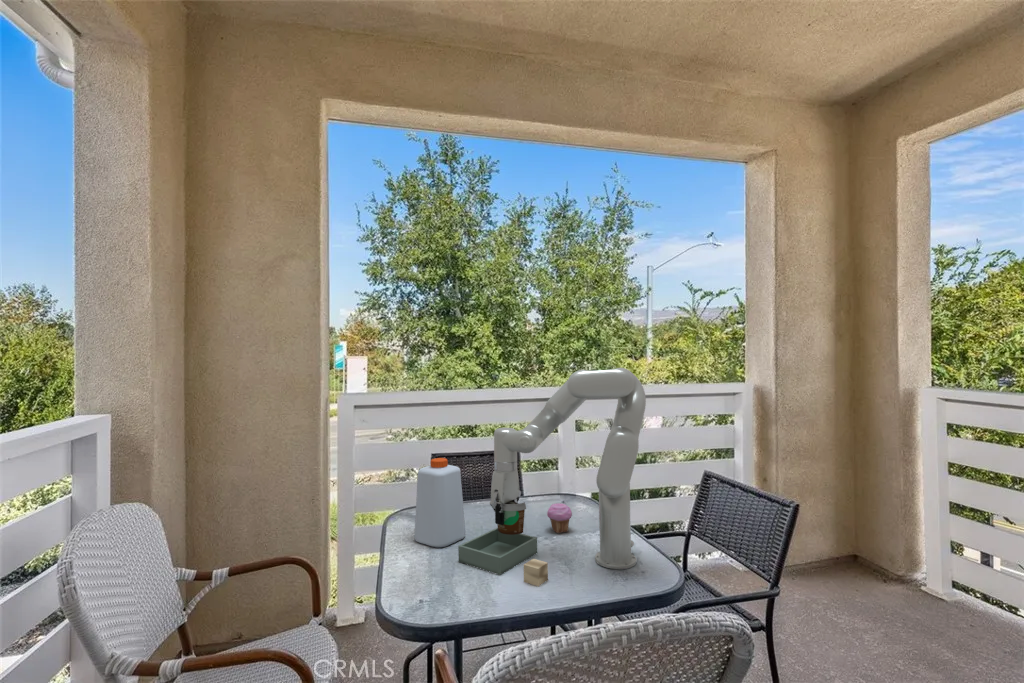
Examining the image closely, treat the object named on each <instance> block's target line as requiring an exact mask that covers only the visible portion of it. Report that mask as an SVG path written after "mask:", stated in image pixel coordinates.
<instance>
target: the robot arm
mask: <svg viewBox="0 0 1024 683" xmlns="http://www.w3.org/2000/svg"><path fill="white" fill-rule="evenodd" d="M591 399H592V400H593V399H594V400H596V399H617V404H616V410H615V415H614V418H613V421H612V426H611V428H610V431H609V433H608V434H607V436H606V437H607V438H606V440H605V444H604V448H603V452H602V456H601V460H600V464H599V468H598V470H597V475H596V480H595V481H596V486H597V489H598V522H599V524H598V526H599V530H598V531H599V552H596V554H595V556H594V558H595V559H594V560H595V563H597V564H598V565H599V566H600V567H604V568H607V569H611V570H624V569H625V570H626V569H630V568H633V567H634V566H636V564H637V557H636V556H635V555H634V554H633V553H632V547H634V546H635V543H634V541H633V540H632V539H631V537H632V536H631V535H632V533H631V480H632V475H633V472H634V468H635V464H636V461H637V457H638V453H639V446H640V445H639V443H640V442H639V441H640V440H639V437H640V434H641V433H640V432H641V429H642V425H643V419H644V416H645V411H646V406H647V404H646V402H647V401H646V400H647V397H646V393H645V388H644V386H643V383H642V382H641V381H640V380H639V378H638V377H637V376H636V375H635V374H634V373H633V371H632V372H631V371H630V370H629V369H627V368H625V367H617V368H613V369H602V370H601V369H599V370H587V369H578V370H576V371H575V372H574V371H573V373H571V374H570V376H569V378H568V379H567V380H566V381H565V382H564V383H563V385H561V387H559V389H558V390H556V392H554V394H552V396H551V397H550V398H549V399H548V400H547V401H546V403H545V405H544V406H543V408H542V410H541V411H540V412H539V413H538V414H537V415H536V416H535V417H534V418H533V420H531V421H530V423H529V424H527V426H525V427H524V428H522V429H519V430H516V429H515V428H512V427H499V428H495V430H494V432H493V451H494V452H493V464H494V465H493V467H494V469H493V470H494V471H493V472H492V476H491V484H490V486H491V487H490V501H489V505H490V506H491V508H492V510H493V512H494V523H495V524H496V525H497V524H499V525H504V512H503V508H504V503H507V502H509V501H514V502H516V503H518V504H519V500H520V498H521V495H522V491H521V490H520V480H519V473H518V453H522V454H531V453H533V452H534V451H535V450H536V449H537V448H538V447H540V445H541V444H543V442H544V441H545V440H546V439H547V438H548V437H549V436H550V435H551V434H552V433H553V432H554V431H555V430H556V429H557V428H558V427H559V426H560V425H561V424H563V423H564V422H566V421H567V420H568V419H569V418H570V417H571V416H572V415H573V414H574V413H575V412H576V410H578V409H579V407H581V406H582V405H583V403H584V402H585V401H586V400H591ZM499 500H500V502H499ZM499 504H501V505H500V507H499V506H498V505H499Z"/></svg>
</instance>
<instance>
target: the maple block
mask: <svg viewBox="0 0 1024 683" xmlns="http://www.w3.org/2000/svg"><path fill="white" fill-rule="evenodd" d="M548 565H549V562H546V561H543V560H541V559H536V558H532V559H530V560H528V561H527V562H525V563H524V564H523V583H527V584H528V585H532V586H536V587H540V586H542V585H543V584H544V583H545V581H546V582H547V581H548V580H549V566H548Z"/></svg>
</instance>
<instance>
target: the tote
mask: <svg viewBox="0 0 1024 683" xmlns="http://www.w3.org/2000/svg"><path fill="white" fill-rule="evenodd" d="M536 553H537V554H538V537H536V536H533V535H528V534H526V533H525V534H524V533H521V534H515V535H507V534H502V533H500V532H499V531H498V527H496V528H493V529H492V530H489V531H487V532H485V533H483V534H481V535H478V536H476V537H475V538H472V539H470V540H468V541H466V542H464V543H462V544H459V545H458V562H459V563H461V562H462V563H461V564H464V563H465V564H464V565H467V564H468V565H467V566H470V565H471V567H473V566H475V567H474V568H476V567H478V568H477V569H480V568H481V569H480V570H483V569H484V570H483V571H486V570H487V572H489V571H490V573H492V572H493V574H495V573H496V575H499V576H501V575H503V574H505V573H506V572H508V571H510V570H511V569H513V568H514V566H515V567H516V565H517V566H518V565H520V564H522V563H523V562H525V561H526V559H527V560H528V559H530V558H531V556H532V557H533V556H535V555H537V554H536ZM534 554H535V555H534ZM529 557H530V558H529ZM524 560H525V561H524ZM521 562H522V563H521ZM519 563H520V564H519ZM509 569H510V570H509ZM504 572H505V573H504Z"/></svg>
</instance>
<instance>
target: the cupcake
mask: <svg viewBox="0 0 1024 683" xmlns="http://www.w3.org/2000/svg"><path fill="white" fill-rule="evenodd" d="M546 514H547V517H548V518H549V520H550V523H551V528H552V530H553V532H555V533H557V534H560V533H561V534H562V533H567V532H568V531H569V526H570V525H569V522H570V519H572V516H573V512H572V509H571V507H570V506H568V505H567V504H565V503H552V504H551V505H550V507H548V508H547V512H546Z"/></svg>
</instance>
